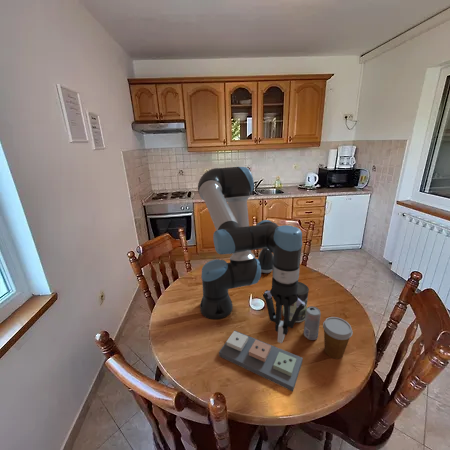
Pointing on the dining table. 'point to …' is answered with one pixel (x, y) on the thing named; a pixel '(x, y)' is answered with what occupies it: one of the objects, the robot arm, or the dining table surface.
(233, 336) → the key one
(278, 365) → the key three
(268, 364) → the keypad board
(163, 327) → the dining table surface
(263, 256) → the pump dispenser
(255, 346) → the key two
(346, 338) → the disposable coffee cup
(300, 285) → the coffee can
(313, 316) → the energy drink
